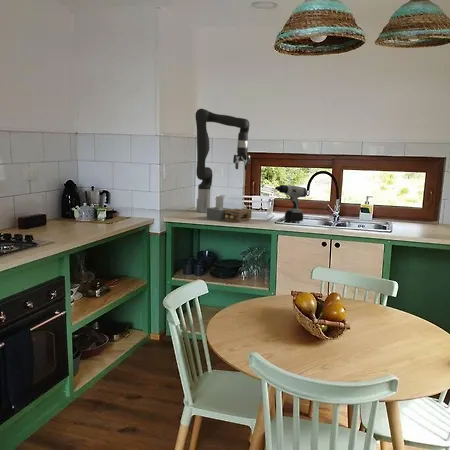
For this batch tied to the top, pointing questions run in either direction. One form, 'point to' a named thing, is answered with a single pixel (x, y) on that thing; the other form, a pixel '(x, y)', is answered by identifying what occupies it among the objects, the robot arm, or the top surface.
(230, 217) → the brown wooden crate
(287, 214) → the cordless drill
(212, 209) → the grey square box
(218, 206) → the steel peg
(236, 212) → the socket block
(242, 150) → the robot arm
